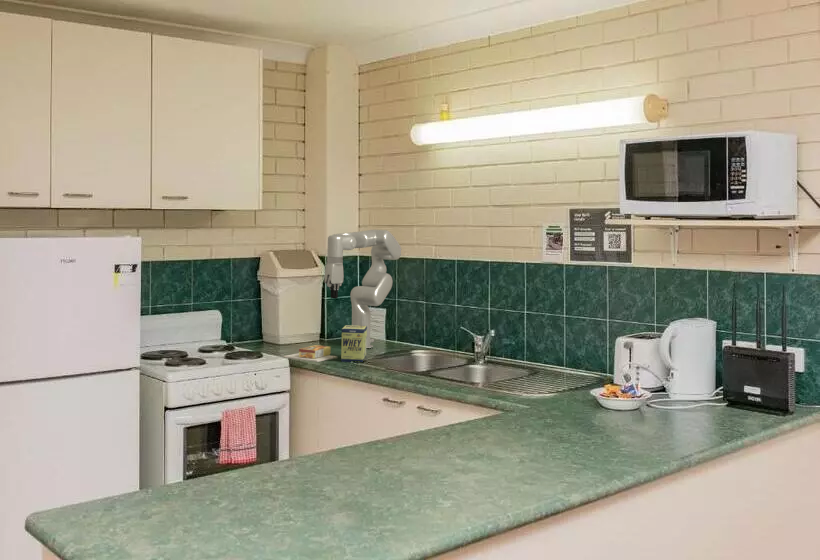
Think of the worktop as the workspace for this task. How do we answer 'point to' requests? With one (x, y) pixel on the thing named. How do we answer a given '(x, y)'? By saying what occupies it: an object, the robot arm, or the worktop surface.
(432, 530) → the worktop surface
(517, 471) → the worktop surface
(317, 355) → the candy box
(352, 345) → the protein box
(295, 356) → the mat
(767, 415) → the worktop surface
